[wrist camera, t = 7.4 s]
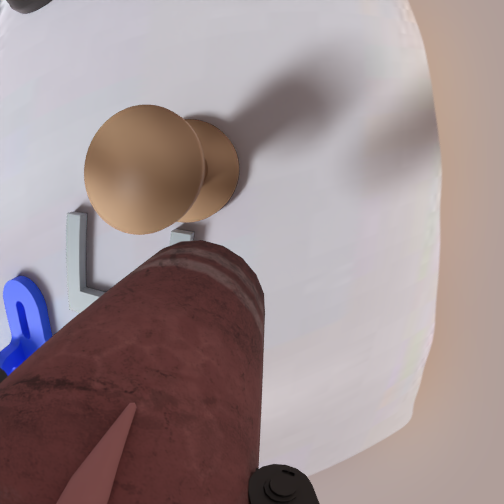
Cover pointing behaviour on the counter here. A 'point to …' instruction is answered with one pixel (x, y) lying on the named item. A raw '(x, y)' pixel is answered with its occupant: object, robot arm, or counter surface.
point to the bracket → (24, 322)
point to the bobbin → (158, 170)
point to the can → (144, 391)
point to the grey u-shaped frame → (76, 260)
